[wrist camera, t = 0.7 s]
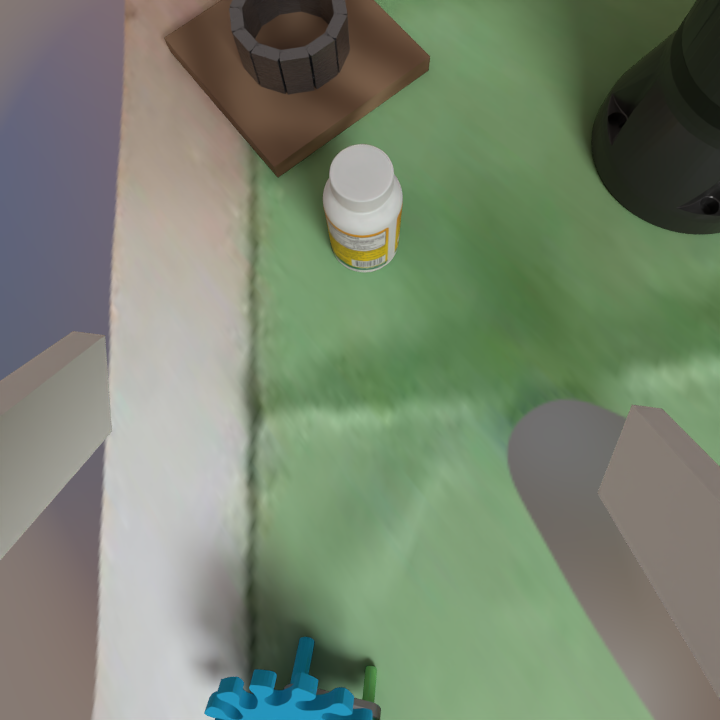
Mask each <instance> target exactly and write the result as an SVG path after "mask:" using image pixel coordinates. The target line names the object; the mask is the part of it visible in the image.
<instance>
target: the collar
mask: <svg viewBox="0 0 720 720" xmlns="http://www.w3.org/2000/svg"><path fill="white" fill-rule="evenodd" d="M229 12H230V21H231V31H232V34H233V37H234V40H235V43H236V46H237V49H238V52H239V55H240V58H241V61H242V64H243V67H244V69H245V70H246V71H247V72H248V73H249V74H250V75H251V77H252V78H253V79H254V80H255V81H256V82H257V83H258V84H259V85H260V84H261V87H264V88H267V89H270V90H273V91H277V92H280V93H283V94H286V92H287V93H288V95H289V94H295V93H302V92H308V91H315V90H314V87H315V88H316V89H319V88H320V87H321V86H323V85H324V84H326V83H327V82H329V81H330V80H331V79H333V78H334V77H336V76H337V75H338V73H340V71H341V69H342V67H343V65H344V63H345V61H346V58H347V56H348V54H349V52H350V51H349V50H350V44H349V30H348V16H347V9H346V3H345V0H232V2H231V4H230V8H229ZM294 12H305V13H308V14H311V15H314V16H318V17H321V18H322V19H323V20H324V21H325V22H326V23H327V24H328V27H327V29H326V32H325V33H324V34H323V35H321V36H320V37H318V38H317V39H315V40H314V41H312V42H311V43H309V44H308V45H306V46H304V47H298V48H291V49H284V50H279V49H276V48H273V47H269V46H266V45H263V44H260V43H258V42H257V41H256V40H255V38H256V37H257V35H258V33H259V31H260V29H261V27H262V26H263V25H265V24H266V23H268V22H269V21H271V20H272V19H274V18H275V17H277V16H278V15H281V14H288V13H294Z"/></svg>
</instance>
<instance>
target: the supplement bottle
mask: <svg viewBox="0 0 720 720" xmlns="http://www.w3.org/2000/svg"><path fill="white" fill-rule="evenodd" d="M402 201H403V196H402V189H401V186H400V183H399V181H398V179H397V177H396V176H395V175H394V169H393V165H392V162H391V160H390V159H389V157H388V156H387V155H386V154H385V153H384V152H383V151H382V150H380V149H379V148H377V147H374V146H371V145H366V144H357V145H353V146H349V147H347V148H345V149H343V150H342V151H341V152H339V153H338V154H337V155H336V157H335V158H334V159H333V161H332V163H331V166H330V170H329V179H328V181H327V182H326V185H325V188H324V192H323V205H324V211H325V216H326V221H327V226H328V231H329V236H330V241H331V246H332V250H333V253H334V255H335V257H336V258H337V259H338V261H339V262H340V263H341V264H343V265H344V266H345V267H347V268H349V269H351V270H354V271H358V272H372V271H376V270H378V269H381V268H382V267H384V266H385V265H387V264H388V263H389V262H390V261H391V260H392V258H393V257H394V255H395V254H396V251H397V248H398V243H399V234H400V222H401V212H402Z"/></svg>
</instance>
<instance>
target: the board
mask: <svg viewBox="0 0 720 720" xmlns="http://www.w3.org/2000/svg"><path fill="white" fill-rule="evenodd" d="M231 2H232V0H221V1H220V2H218V3H217V4H215V5H214V6H212V7H210V8H209V9H207V10H206V11H204V12H203V13H201V14H200V15H198V16H197V17H195V18H194V19H192V20H191V21H189V22H188V23H186V24H185V25H183V26H182V27H180V28H178V29H177V30H175V31H174V32H172V33H171V34H169V35H168V36H166V37H165V38H164V39H165V41H166V43H167V45H168V47H169V49H170V51H171V53H172V54H173V55H174V56H175V57H176V59H177V60H178V61H179V62H180V63H181V64H182V66H183V67H184V68H185V69H186V70H187V71H188V73H189V74H190V75H191V76H192V77H193V79H194V80H195V81H196V82H197V83H198V84H199V86H200V87H201V88H202V89H203V90H204V91H205V93H206V94H207V95H208V96H209V97H210V99H211V100H212V101H213V102H214V103H215V104H216V106H217V107H218V108H219V109H220V110H221V111H222V113H223V114H224V115H225V116H226V117H227V118H228V120H229V121H230V122H231V123H232V124H233V126H234V127H235V128H236V129H237V130H238V131H239V133H240V134H241V135H242V136H243V137H244V138H245V140H246V141H247V142H248V143H249V144H250V146H251V147H252V148H253V149H254V150H255V151H256V153H257V154H258V155H259V156H260V157H261V158H262V160H263V161H264V162H265V163H266V164H267V166H268V167H269V168H270V169H271V170H272V171H273V173H274V174H275V175H276V176H277V177H279V176H281V175H282V174H284V173H285V172H287V171H288V170H289V169H291V168H292V167H294V166H295V165H296V164H298V163H299V162H301V161H302V160H303V159H305V158H306V157H308V156H309V155H310V154H312V153H313V152H315V151H316V150H317V149H319V148H320V147H322V146H323V145H324V144H326V143H327V142H329V141H330V140H331V139H333V138H334V137H336V136H337V135H338V134H340V133H341V132H343V131H344V130H345V129H347V128H348V127H350V126H351V125H352V124H354V123H355V122H357V121H358V120H359V119H361V118H362V117H364V116H365V115H367V114H368V113H369V112H371V111H372V110H374V109H375V108H376V107H378V106H379V105H381V104H382V103H383V102H385V101H386V100H388V99H389V98H390V97H392V96H393V95H395V94H396V93H397V92H399V91H400V90H402V89H403V88H404V87H406V86H407V85H409V84H410V83H411V82H413V81H414V80H416V79H417V78H418V77H420V76H421V75H423V74H424V73H425V72H427V71H428V70H429V62H430V56H429V55H428V54H427V53H426V52H425V51H424V50H423V49H422V48H421V47H420V46H419V45H418V44H417V43H416V42H415V41H414V40H413V39H412V38H411V37H410V36H409V35H408V34H407V33H406V32H405V31H404V30H403V29H402V28H401V27H400V26H399V25H398V24H397V23H396V22H395V21H394V20H393V19H392V18H391V17H390V16H389V15H388V14H387V13H386V12H385V11H384V10H383V9H382V8H381V7H380V6H379V5H378V4H377V3H376V2H375V1H374V0H345V3H346V9H347V16H348V30H349V44H350V50H349V51H350V52H349V54H348V56H347V58H346V61H345V63H344V65H343V67H342V69H341V71H340V73H338V75H337V76H336V77H334V78H333V79H331V80H330V81H329V82H327V83H326V84H324V85H323V86H321V87H320V88H319V89H316V88H315V87H314V90H315V91H308V92H302V93H295V94H289V95H288V93H287V92H286V94H283V93H280V92H277V91H273V90H270V89H267V88H264V87H261V84H260V85H259V84H258V83H257V82H256V81H255V80H254V79H253V78H252V77H251V75H250V74H249V73H248V72H247V71H246V70H245V69H244V67H243V64H242V61H241V58H240V55H239V52H238V49H237V46H236V43H235V40H234V37H233V34H232V31H231V21H230V12H229V8H230V4H231ZM327 27H328V24H327V23H326V22H325V21H324V20H323V19H322V18H321V17H318V16H314V15H311V14H308V13H305V12H294V13H288V14H281V15H278V16H277V17H275V18H274V19H272V20H271V21H269V22H268V23H266V24H265V25H263V26H262V27H261V29H260V31H259V33H258V35H257V37H256V38H255V40H256V41H257V42H258V43H260V44H263V45H266V46H269V47H273V48H276V49H279V50H284V49H291V48H298V47H304V46H306V45H308V44H309V43H311V42H312V41H314V40H315V39H317V38H318V37H320V36H321V35H323V34H324V33H325V32H326V29H327Z"/></svg>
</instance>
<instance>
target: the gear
mask: <svg viewBox="0 0 720 720" xmlns="http://www.w3.org/2000/svg"><path fill="white" fill-rule="evenodd" d="M314 643H315V642H314V640H313V639H312V638H309V637H301V638H300V640H299V644H298V649H297V654H296V658H295V663H294V668H293V673H292V677H291V682H290V684H288V685H286V686H285V687H284V690H274V686H275V682H276V677H277V675H276V673H275V672H273V671H268V670H258V669H255V670H254V672H253V676H252V679H251V683H250V687H249V689H250V691H251V692H253V693H254V694H251V693H248V692H246V691H244V689H243V686H244V682H243V680H242V679H240V678H239V677H228V678H224V679H221V682H220V685H219V688H218V692H217V691H216V692H214V693H213V694H212V695H211V696H210V698H209V701H208V704H207V707H206V710H205V713H204V714H206V715H207V716H210V717H213V718H215V720H380V713H381V708H380V706H379V705H377V704H375V703H374V697H375V684H376V672H377V669H376V667H374V666H367V667H366V669H365V679H364V689H363V699H362V700H361V699H357V698H354V696H353V695H352V693H351V692H350V691H348V690H347V689H346V688H343V687H339V688H335V689H334V690H332V691H330V692H329V691H325V690H321V689H317V686H318V679H316V678H315V677H313V676H310V675H309V670H310V664H311V659H312V653H313V648H314Z"/></svg>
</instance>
